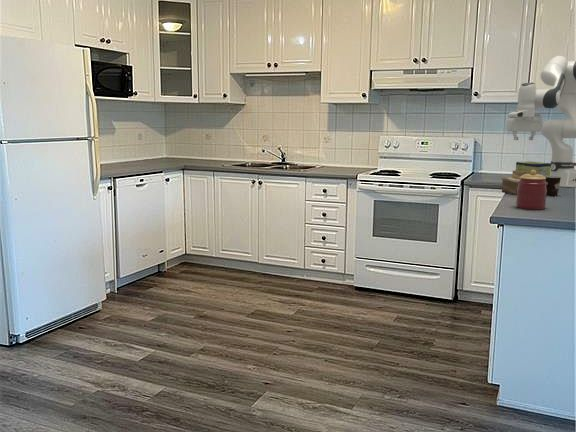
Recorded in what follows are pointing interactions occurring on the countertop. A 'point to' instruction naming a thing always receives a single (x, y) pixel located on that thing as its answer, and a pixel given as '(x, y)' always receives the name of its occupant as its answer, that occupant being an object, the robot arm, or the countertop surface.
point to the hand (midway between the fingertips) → (523, 140)
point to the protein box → (534, 167)
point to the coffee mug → (552, 185)
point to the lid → (515, 176)
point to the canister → (531, 191)
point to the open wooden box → (509, 187)
